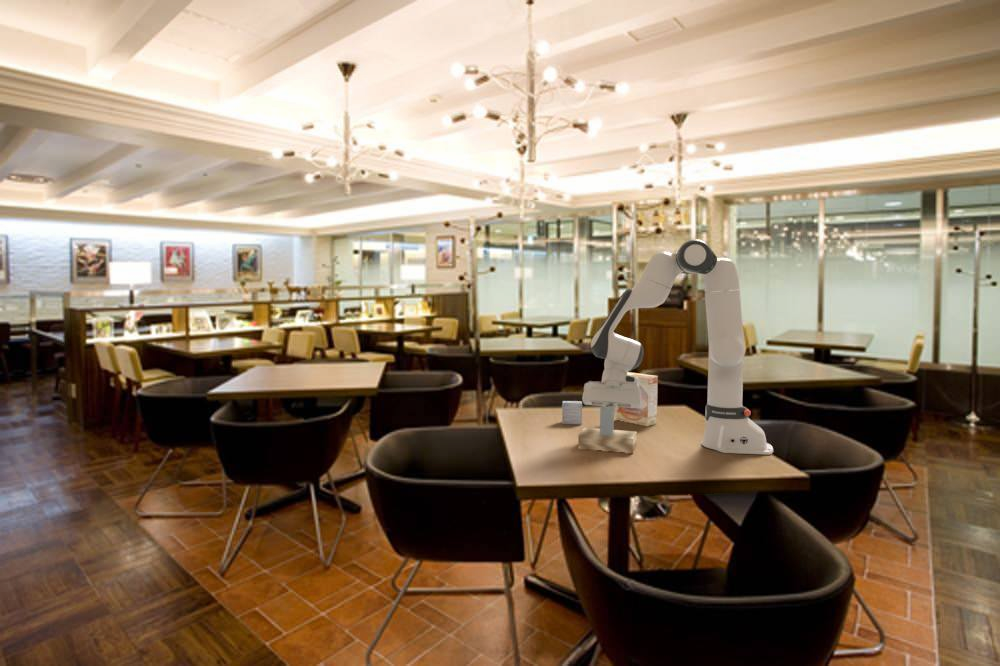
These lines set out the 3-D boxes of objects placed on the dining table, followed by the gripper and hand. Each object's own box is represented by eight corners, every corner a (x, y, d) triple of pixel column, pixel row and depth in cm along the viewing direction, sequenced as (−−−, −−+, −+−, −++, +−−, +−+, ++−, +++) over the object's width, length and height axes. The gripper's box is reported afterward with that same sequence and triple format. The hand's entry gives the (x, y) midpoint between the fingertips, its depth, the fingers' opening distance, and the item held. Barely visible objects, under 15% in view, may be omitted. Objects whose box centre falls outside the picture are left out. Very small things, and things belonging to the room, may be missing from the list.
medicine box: (581, 422, 232) (581, 401, 232) (582, 424, 228) (582, 403, 227) (561, 421, 233) (562, 400, 232) (562, 424, 229) (562, 402, 228)
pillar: (613, 433, 193) (614, 407, 192) (612, 436, 190) (612, 409, 189) (601, 432, 194) (602, 406, 194) (599, 435, 191) (600, 408, 191)
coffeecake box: (615, 420, 236) (616, 373, 234) (625, 417, 241) (626, 371, 239) (647, 426, 225) (648, 377, 223) (657, 423, 230) (658, 375, 228)
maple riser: (636, 446, 197) (636, 431, 196) (633, 453, 187) (633, 438, 187) (584, 441, 203) (584, 427, 202) (578, 448, 193) (578, 434, 193)
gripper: (583, 375, 207) (578, 408, 198) (642, 378, 200) (638, 412, 191) (586, 386, 211) (580, 418, 203) (643, 389, 204) (640, 422, 196)
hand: (609, 415), depth 197 cm, fingers closed
